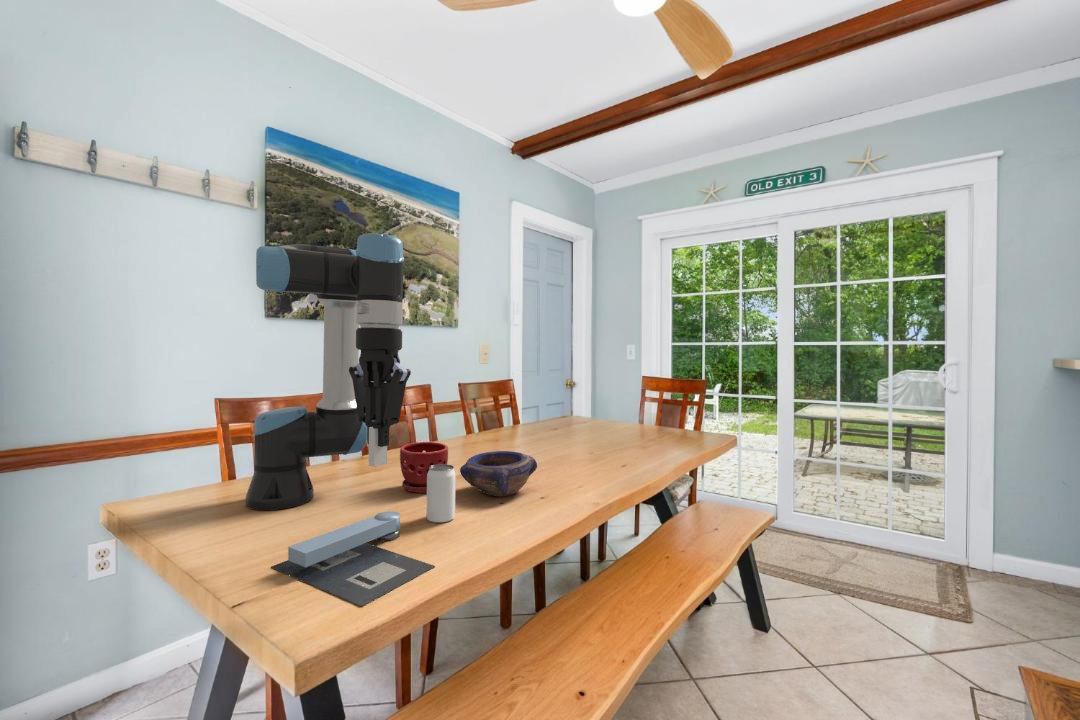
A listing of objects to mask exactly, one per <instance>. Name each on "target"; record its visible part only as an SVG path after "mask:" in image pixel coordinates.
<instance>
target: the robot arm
mask: <svg viewBox="0 0 1080 720" xmlns="http://www.w3.org/2000/svg"><path fill="white" fill-rule="evenodd" d="M356 241H357V242H356V249H351V248H342V247H332V246H325V245H324V246H323V245H314V244H306V243H301V244H300V243H295V244H284V245H279V246H277V245H274V246H266V245H261V246H259V247H257V248H256V252H255V254H256V255H255V256H256V259H255V260H256V261H255V263H256V264H255V270H256V272H255V277H256V278H255V280H256V284H255V285H256V286H257V288H258V289H260V290H263V291H272V292H275V293H276V292H277V293H282V292H284V293H285V292H286V293H298V294H299V293H301V294H302V293H303V294H317V300H318V302H319V303H320V304H321V305H322V306H323V309H324V310H323V311H324V313H323V314H324V315H323V355H322V356H323V360H322V361H323V365H322V366H323V367H322V370H323V371H322V398H321V399H320V400H319V401H318V402H317V403H316V405H315V411H308V408H307V407H306V406H303V405H302V406H289V407H282V408H277V409H276V408H275V409H271V410H268V411H267V410H266V411H264V412H261V413H260V414H258V415H257V416H256V418H255V420H254V431H253V436H254V447H253V448H254V450H253V451H254V452H253V453H254V455H253V465H254V466H253V475H252V478H251V481H250V484H249V486H248V489H247V492H246V495H245V506H246V507H247V508H248V509H251V510H257V511H276V510H283V509H291V508H294V507H297V506H301V505H304V504H307V503H309V502H311V501H312V500H313V499H314V495H315V494H314V491H315V490H314V487H313V483H312V480H311V477H310V474H309V473H308V469H307V458H314V457H315V458H316V457H327V456H339V455H341V456H342V455H343V456H344V455H345V456H347V455H350V454H351V455H352V454H355V453H356V454H357V453H360V452H361V451H363V450H364V449H365V447H366V445H368V466H370V467H373V468H374V467H379V466H384V465H386V464H387V465H388V446H389V444H390V427H391V426H394V425H397V424H399V422H400V418H401V412H402V407H403V403H404V396H405V392H406V387H407V383H408V381H409V378H410V376H411V374H412V372H411V369H410V368H404V366H402V365H401V359H400V357H399V352H400V351H401V350H402V348H403V331H402V329H401V328H400V327H401V326H403V321H404V320H403V319H404V318H403V315H404V314H403V313H404V311H403V309H404V308H403V306H404V305H403V296H404V295H403V294H404V293H403V291H404V287H403V285H404V281H403V280H404V261H405V257H404V248H403V247H404V245H403V241H402V240H401V239H400V238H398V237H397V236H394V235H391V234H386V233H375V232H374V233H371V232H370V233H364V234H361V235H359V236H358V237H357V240H356ZM359 352H360V353H359ZM359 354H360V356H359Z"/></svg>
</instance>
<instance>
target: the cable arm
mask: <svg viewBox="0 0 1080 720" xmlns="http://www.w3.org/2000/svg"><path fill="white" fill-rule="evenodd" d="M399 529H400V530H401V513H400V512H398V511H382V512H379V513H376V514H375V515H373V516H370V517H368V518H365V519H362V520H359V521H357V522H354V523H351V524H348V525H346V526H342V527H340V528H336V529H334V530H332V531H328V532H325V533H323V534H320V535H317V536H315V537H311V538H310V539H305V540H304V541H303V540H302V541H301V542H298V543H295V544H292V545H289V546H288V547H287V548H288V549H287V551H288V552H287V554H288V555H287V560H289V561H291V562H294V563H296V564H298V565H301V566H303V567H308V566H310V565H313V564H315V563H318V562H320V561H322V560H325V559H327V558H330V557H332V556H335V555H337V554H340V553H342V552H344V551H347V550H349V549H352V548H354V547H357V546H359V545H361V544H364V543H368V542H371V541H373V540H376V538H378V537H381V536H383V535H386V534H388V533H392V532H395V531H398V530H399Z"/></svg>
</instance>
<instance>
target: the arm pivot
mask: <svg viewBox="0 0 1080 720" xmlns="http://www.w3.org/2000/svg"><path fill="white" fill-rule="evenodd" d="M400 536H401V528H400V529H399V530H398V531H395V532H392V533H388V534H386V535H383V536H381V537H378V538H376V539H375V540H376V541H379V542H391V541H394V540H397V539H398V538H400Z"/></svg>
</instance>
